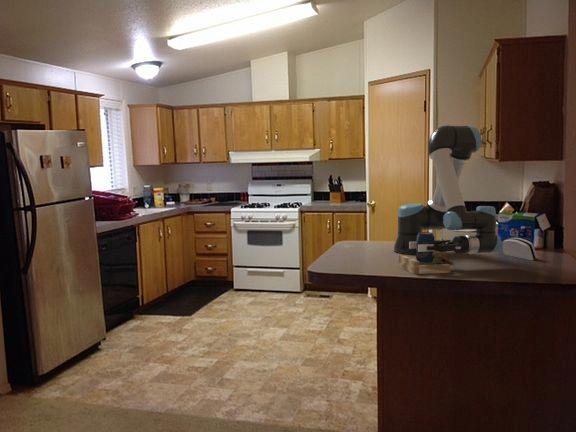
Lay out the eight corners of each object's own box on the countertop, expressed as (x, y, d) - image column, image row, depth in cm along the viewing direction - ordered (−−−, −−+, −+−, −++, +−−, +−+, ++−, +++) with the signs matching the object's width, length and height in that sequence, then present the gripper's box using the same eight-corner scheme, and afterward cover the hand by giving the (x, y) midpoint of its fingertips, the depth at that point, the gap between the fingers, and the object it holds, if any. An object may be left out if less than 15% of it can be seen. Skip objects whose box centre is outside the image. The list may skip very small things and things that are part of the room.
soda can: (413, 262, 202) (414, 233, 201) (419, 259, 208) (419, 231, 207) (431, 264, 198) (431, 234, 197) (435, 261, 204) (436, 232, 203)
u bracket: (398, 267, 209) (398, 255, 208) (432, 265, 212) (432, 253, 212) (414, 274, 195) (414, 261, 195) (450, 272, 199) (450, 260, 198)
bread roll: (432, 272, 216) (438, 256, 213) (417, 258, 224) (423, 243, 220) (449, 269, 221) (455, 255, 217) (434, 256, 229) (440, 242, 225)
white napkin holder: (540, 259, 225) (535, 239, 223) (532, 263, 224) (528, 243, 221) (511, 253, 241) (507, 234, 238) (504, 257, 239) (499, 238, 237)
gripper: (478, 257, 197) (425, 260, 192) (451, 249, 217) (402, 251, 211) (479, 238, 197) (426, 241, 191) (452, 232, 216) (403, 234, 211)
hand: (414, 246), depth 201 cm, fingers closed on soda can, 7 cm apart
